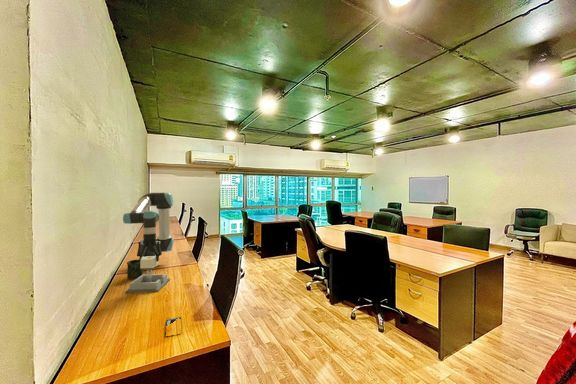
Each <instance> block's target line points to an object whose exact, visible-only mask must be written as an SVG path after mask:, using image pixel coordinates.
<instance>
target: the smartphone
mask: <svg viewBox="0 0 576 384" xmlns="http://www.w3.org/2000/svg"><path fill="white" fill-rule="evenodd" d="M178 318H179V319H181V318H182V316H179V317H173V318H169V319H166V320H165V324H166V325H165V324H164V325H165V326H168V325H169V324H171V323H173V322H174V321H176V320H178Z"/></svg>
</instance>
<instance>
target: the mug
mask: <svg viewBox="0 0 576 384" xmlns="http://www.w3.org/2000/svg"><path fill="white" fill-rule="evenodd" d="M126 265H127V269H126V271H127V272H126V273H127V275H126V277H127V280H136V279H137V278H138V277H140V276H141V275H144V268H140V259H132V260H128V261H127V262H126Z"/></svg>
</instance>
